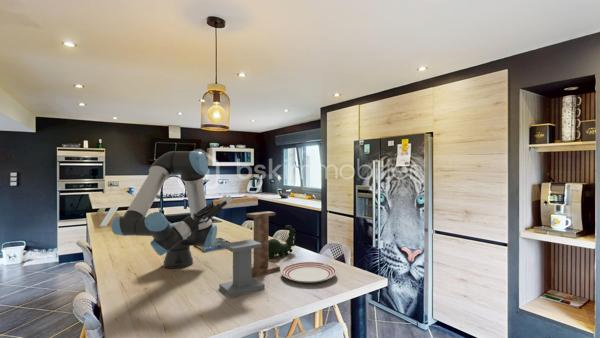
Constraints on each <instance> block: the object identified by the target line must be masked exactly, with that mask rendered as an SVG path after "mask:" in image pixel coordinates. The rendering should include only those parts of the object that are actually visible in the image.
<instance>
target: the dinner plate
mask: <svg viewBox="0 0 600 338" xmlns="http://www.w3.org/2000/svg"><path fill="white" fill-rule="evenodd" d="M337 271H338V270H337V268H336V267H334V266H333V265H331V264H328V263H324V262H320V261H302V262H301V261H300V262H294V263H291V264H289V265H288V264H287V265H286V266H284V267H283V268H282V269H280V273H281V275H282V276H283V277H284V278H286V279H288V280H291V281H294V282H298V283H305V284H314V283H320V282H324V281H327V280H329V279H331V278H333V277H334V276H336V275H337Z"/></svg>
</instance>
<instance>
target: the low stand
mask: <svg viewBox="0 0 600 338" xmlns="http://www.w3.org/2000/svg"><path fill="white" fill-rule="evenodd" d="M259 247H262V243H259V242H256V241H254V239H245V240H239V241H231V242H225V243H222V248H224V249H226V250H227V251H230V252H232V281H227V282H223V283H220V284H219V290H220V291H222V292H223V293H224V294H226V295H227V296H228V297H229V298H231V299H233V298H236V297H239V296H244V295H246V294H251V293H254V292H258V291H261V290H265V287H266V286H265V285H266V284H265V283H263V282H262V281H260V280H258V279H257V278H255V277H252V276H251V265H252V253H253V252H252V249H253V250H254V248H259Z"/></svg>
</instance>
